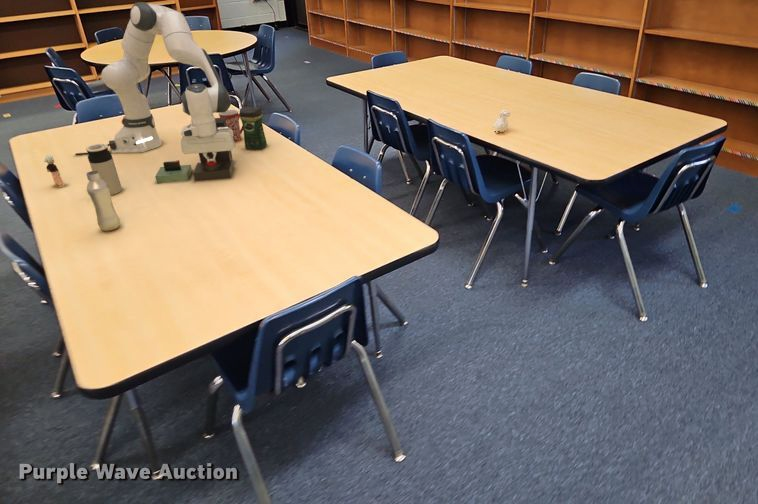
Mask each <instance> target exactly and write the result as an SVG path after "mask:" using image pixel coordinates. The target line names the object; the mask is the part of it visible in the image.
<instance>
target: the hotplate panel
mask: <svg viewBox="0 0 758 504" xmlns="http://www.w3.org/2000/svg"><path fill="white" fill-rule="evenodd" d="M180 166H181V170H177V171H165V169H164V166H160V167H159V169H158V171H157V173H156V174H155V176H154V177H155V181H156V184H162V183H173V182H174V183H175V182H187V181H189V179H190V177H191V174H192V173H193V169H192V165H191V164H180Z"/></svg>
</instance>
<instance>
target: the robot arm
mask: <svg viewBox="0 0 758 504" xmlns="http://www.w3.org/2000/svg"><path fill="white" fill-rule="evenodd" d="M129 11H130V12H129V13H130V14H129V21H128V23H127V26H126V28H125V32H124V33H123V38H122V40H121V48H122V51H123V56H122V58H121V59H119V60H117V61H116V60H115V61H113V62H110V63H109V64H107V65H106V66H105V67H104V68H103V69H102V71H101V80H102V82H103V83H104V85H105V86H106V87H108V88H109V89H110V90H112V91H113V92H114V93H115V94H116V95H117V98H118V99H119V102H120V104H121V107H122V111H123V113H124V116H123V117H122V119H121V121H120V123H121V124H122V125H123V126H121V128H120V129H119V130H118V131H117V132H116V134H115V135H114V138H113V139H112V140H109V141H108V144H107V143H106V144H107V145H108V147H109V148H110V153H111V154H112V153H113V154H120V153H123V154H124V153H125V154H126V153H127V154H129V153H130V154H131V153H134V154H135V153H145V152H147V151H150V150H153V149H156V148H159V147H161V146H162V145H163V142H162V140H161V138H160V136H159V134H158V130H157V129H156V123H155V118H154V116H153V114H152V112H151V108H150V104H149V100H148V98H147V96H146V95H145V94H143V93H141V91H140V89H138V85H137V84H139V83H141V82H143V81H145V80H146V79H147V78H148V77H149V76H150V73H151V67H150V64H149V57H150V53H151V50H152V47H153V45H154V42H155V39H156V36H162V40H163V43H164V46H165V50H166V52H167V54H168V55H169V57H171V58H172V59H173V60H175V61H176V62H178V63H181V64H185V65H189V66H193V67H196V68H199V69H201V70H202V71H203V72H204V74H205V76H206V78H207V80H208V82H209V84H210V86H211V87H207V86H206V85H205V84H203V83H193V84H190V85H187V86H186V87H185V91H184V92H183V93H182V94H181V96H180V100H181V104H182V111H183V113H185V114H186V115H188V116H190V118H191V119H190V124H188V125H186V126H184V127H183V128H181V131H180V135H181V139H180V149H181V153H183V154H184V155H192V154H199V153H203V156H204V157H205V158H206V159H207V161H208V163H213V162H216V160H215V156H216V154H217V152H219V151H231V152H232V151H234V150H235V149H236V142H234V139H233V136H234V134H233V130H232V129H231V128H228V127H216V122H215V118H216V117H215V116H214V114H215V113H217V114H219V113H221V112H226V111H227V110H229V108H230V107H231V106H232V103H231V102H232V101H231V96H230V94H229V92H228V90H227V88H226V86H225V85H224V83H223V81H222V80H221V78H220V76H219V73H218V71H217V69H216V67H215V66H214V64H213V61H212V59H211V57H210V56H209V54H208V52H207V51H206V50H205V49H204V48H202V47H200V46H199V45H198V44H197V43H196V42H195V39H194V37H193V34H192V30H191V28H190V25H189V23H188V20H187V18H186V15H185V14H184V13H182V12H181V11H179V10H177V9H173V8H170V7H167V6H164V5H160V4H159V5H158V4H153V3H148V2H145V1H139V2H135V3H134V4H132V6H131V8H130V10H129ZM207 152H212V153H213V154H214V156H213V157H209V156H208V155H207ZM74 155H75V156H84V155H86V156H87V155H89V154H88V152H87V151H86V152H77V153H74Z"/></svg>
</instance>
